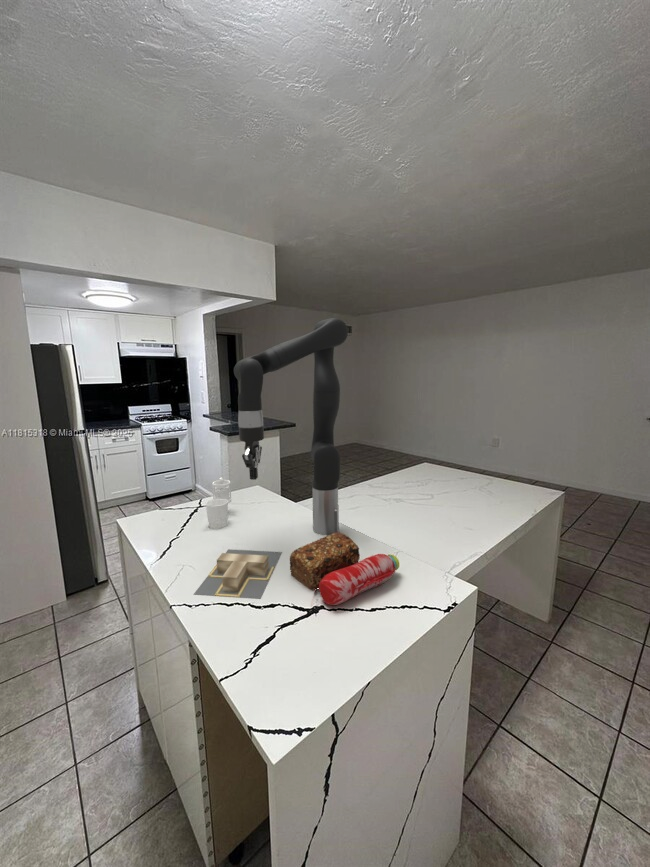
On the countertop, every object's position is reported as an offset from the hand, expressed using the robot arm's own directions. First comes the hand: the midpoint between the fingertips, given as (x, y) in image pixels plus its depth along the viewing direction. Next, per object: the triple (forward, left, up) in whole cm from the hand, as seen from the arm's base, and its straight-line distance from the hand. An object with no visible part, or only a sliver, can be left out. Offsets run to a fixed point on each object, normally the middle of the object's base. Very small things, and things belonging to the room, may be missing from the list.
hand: (253, 478), depth 112 cm
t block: (0, +18, -24) cm, 29 cm away
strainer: (+23, -28, -25) cm, 44 cm away
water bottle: (-34, +16, -25) cm, 45 cm away
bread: (-24, +11, -25) cm, 36 cm away
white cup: (+20, -16, -25) cm, 36 cm away
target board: (0, +14, -25) cm, 28 cm away
